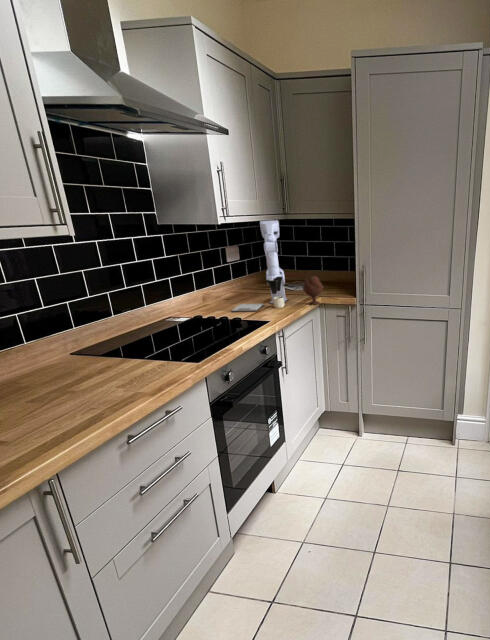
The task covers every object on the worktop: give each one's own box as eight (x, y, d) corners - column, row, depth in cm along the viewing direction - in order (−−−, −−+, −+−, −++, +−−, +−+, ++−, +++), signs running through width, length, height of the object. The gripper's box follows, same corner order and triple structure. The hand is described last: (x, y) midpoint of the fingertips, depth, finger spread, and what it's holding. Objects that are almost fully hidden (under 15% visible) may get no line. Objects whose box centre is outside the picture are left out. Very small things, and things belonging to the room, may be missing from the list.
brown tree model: (326, 301, 243) (324, 274, 237) (321, 305, 233) (319, 277, 227) (307, 301, 244) (305, 274, 238) (302, 306, 234) (299, 277, 228)
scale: (240, 306, 238) (240, 303, 237) (264, 305, 237) (263, 303, 237) (231, 312, 225) (231, 309, 224) (256, 311, 225) (256, 309, 224)
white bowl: (275, 305, 236) (274, 296, 234) (285, 305, 236) (284, 296, 234) (272, 308, 231) (271, 298, 229) (283, 307, 231) (282, 298, 229)
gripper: (269, 264, 231) (272, 289, 236) (261, 268, 218) (265, 295, 223) (282, 263, 231) (285, 289, 236) (275, 267, 217) (278, 294, 223)
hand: (276, 292), depth 229 cm, fingers open, 7 cm apart
